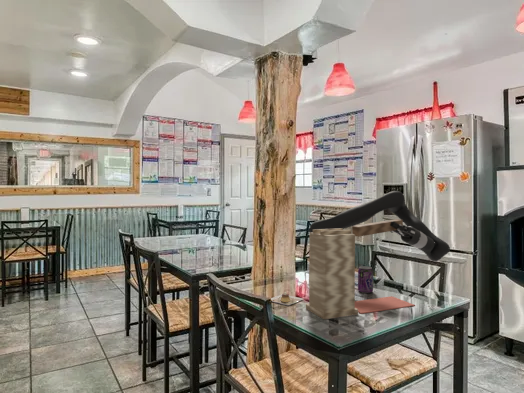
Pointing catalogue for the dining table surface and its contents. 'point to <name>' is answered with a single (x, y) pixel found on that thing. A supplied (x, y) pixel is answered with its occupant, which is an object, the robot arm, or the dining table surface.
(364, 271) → the beverage can
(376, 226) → the block
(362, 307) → the mat
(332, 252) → the pedestal
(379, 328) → the dining table surface
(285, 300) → the dessert
